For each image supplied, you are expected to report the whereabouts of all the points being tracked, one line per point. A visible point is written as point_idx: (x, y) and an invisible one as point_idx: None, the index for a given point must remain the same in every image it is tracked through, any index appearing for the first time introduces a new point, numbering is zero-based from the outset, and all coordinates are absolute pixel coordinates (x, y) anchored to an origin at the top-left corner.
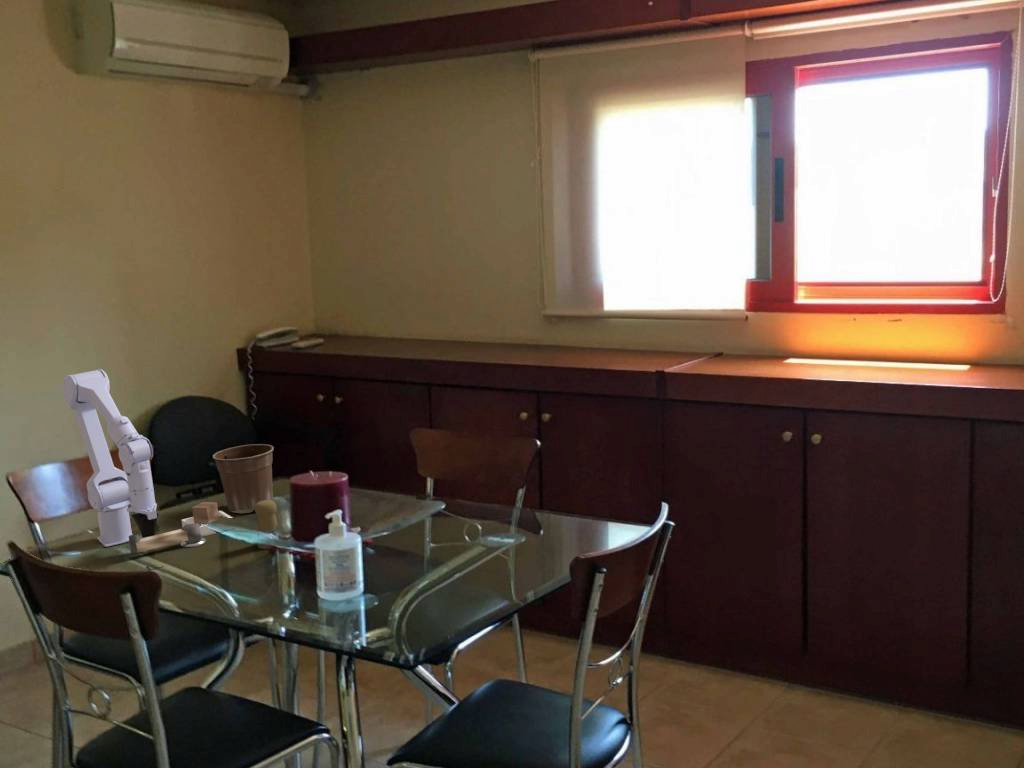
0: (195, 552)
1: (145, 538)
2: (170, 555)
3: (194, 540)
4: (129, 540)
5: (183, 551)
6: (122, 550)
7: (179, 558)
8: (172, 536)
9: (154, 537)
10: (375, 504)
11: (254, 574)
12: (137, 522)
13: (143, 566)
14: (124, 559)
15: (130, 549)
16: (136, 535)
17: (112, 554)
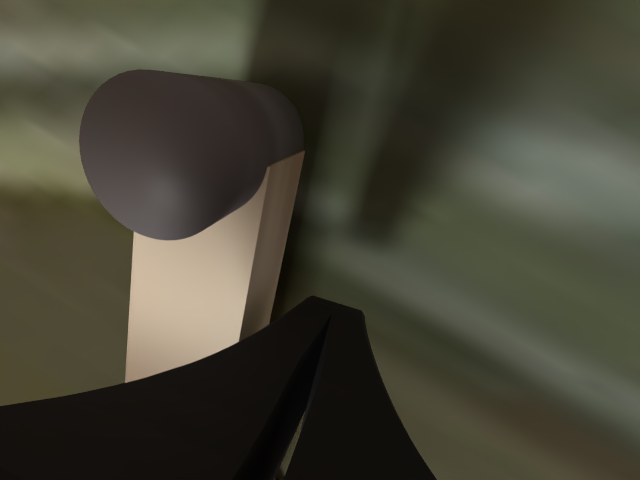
0: (44, 390)
1: (208, 290)
2: (105, 293)
3: None
4: (183, 74)
5: (116, 376)
6: (633, 169)
7: (6, 284)
8: None
9: (160, 354)
10: None
11: None
12: (172, 431)
13: (14, 40)
14: (331, 27)
15: (263, 87)
16: (136, 195)
17: (634, 27)
